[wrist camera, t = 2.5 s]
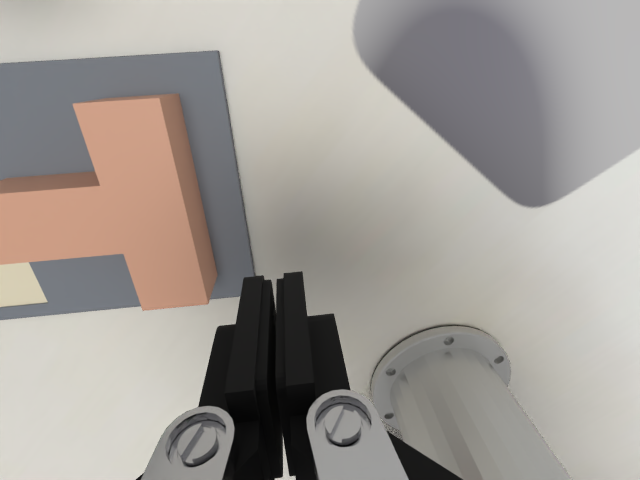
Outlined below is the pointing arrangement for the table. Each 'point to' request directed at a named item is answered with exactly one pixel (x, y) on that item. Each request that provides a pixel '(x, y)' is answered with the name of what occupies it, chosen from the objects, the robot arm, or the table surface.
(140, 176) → the tee
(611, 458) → the table surface
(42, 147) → the mat
